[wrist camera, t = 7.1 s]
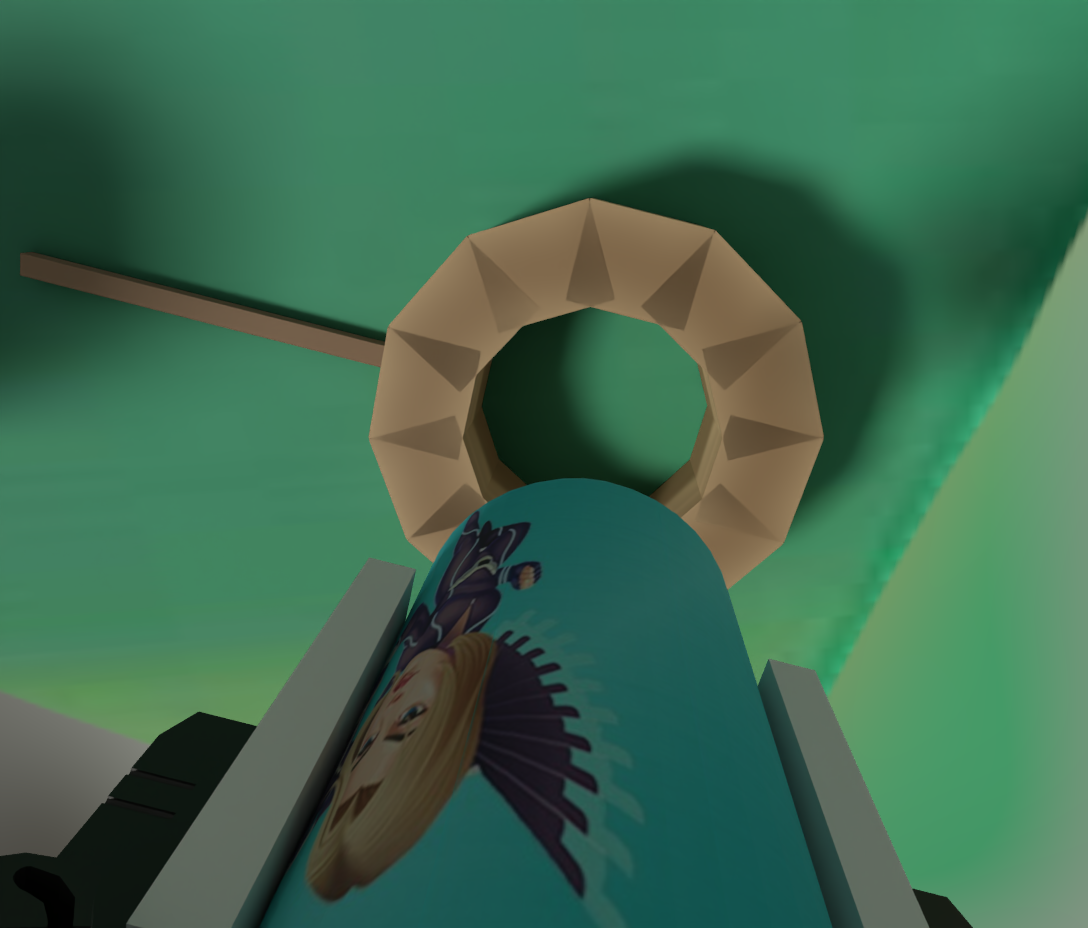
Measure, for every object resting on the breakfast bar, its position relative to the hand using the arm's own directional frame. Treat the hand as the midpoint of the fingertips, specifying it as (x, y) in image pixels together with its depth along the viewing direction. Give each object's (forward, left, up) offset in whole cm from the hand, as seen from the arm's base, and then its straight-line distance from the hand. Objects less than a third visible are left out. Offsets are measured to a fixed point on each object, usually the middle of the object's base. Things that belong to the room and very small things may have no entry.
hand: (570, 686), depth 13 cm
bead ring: (0, 0, -17) cm, 17 cm away
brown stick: (0, -14, -17) cm, 22 cm away
